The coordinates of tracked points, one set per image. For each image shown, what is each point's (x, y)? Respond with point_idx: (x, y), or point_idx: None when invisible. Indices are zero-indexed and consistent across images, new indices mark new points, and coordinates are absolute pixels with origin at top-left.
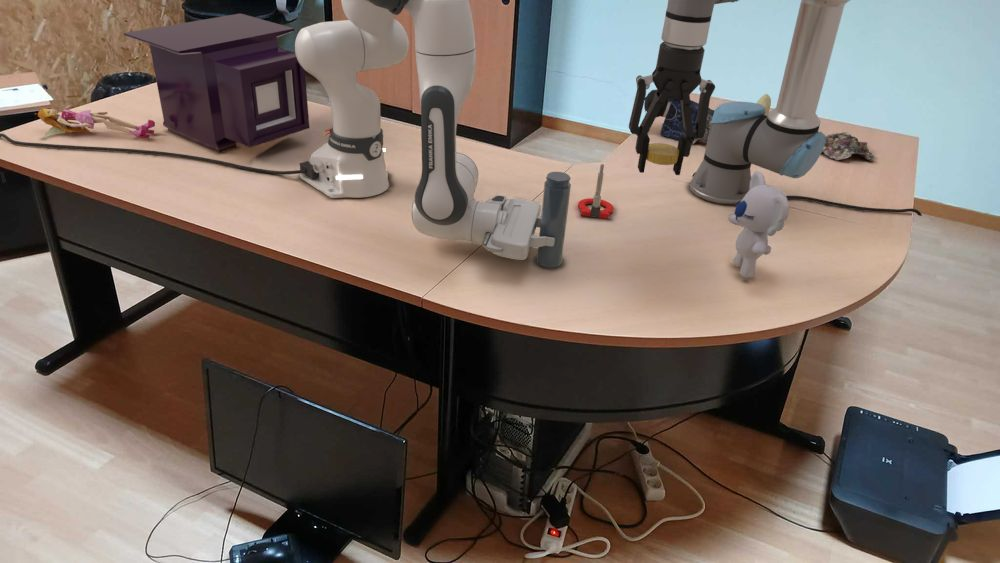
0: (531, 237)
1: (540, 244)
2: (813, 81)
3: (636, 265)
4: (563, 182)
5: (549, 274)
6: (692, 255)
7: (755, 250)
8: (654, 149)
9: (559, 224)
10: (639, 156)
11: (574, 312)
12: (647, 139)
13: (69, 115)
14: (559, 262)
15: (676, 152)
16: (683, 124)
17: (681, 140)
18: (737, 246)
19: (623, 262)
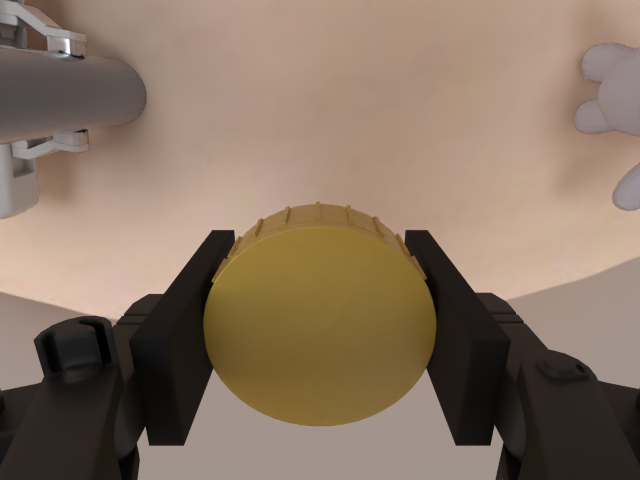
0: (14, 156)
1: (53, 152)
2: None
3: (328, 84)
4: None
5: (124, 151)
6: (490, 9)
7: (619, 206)
8: (258, 353)
9: (64, 132)
10: (195, 255)
11: None
12: (165, 442)
13: None
14: (137, 113)
15: (404, 379)
16: (538, 463)
17: (458, 410)
18: (602, 102)
19: (298, 72)
